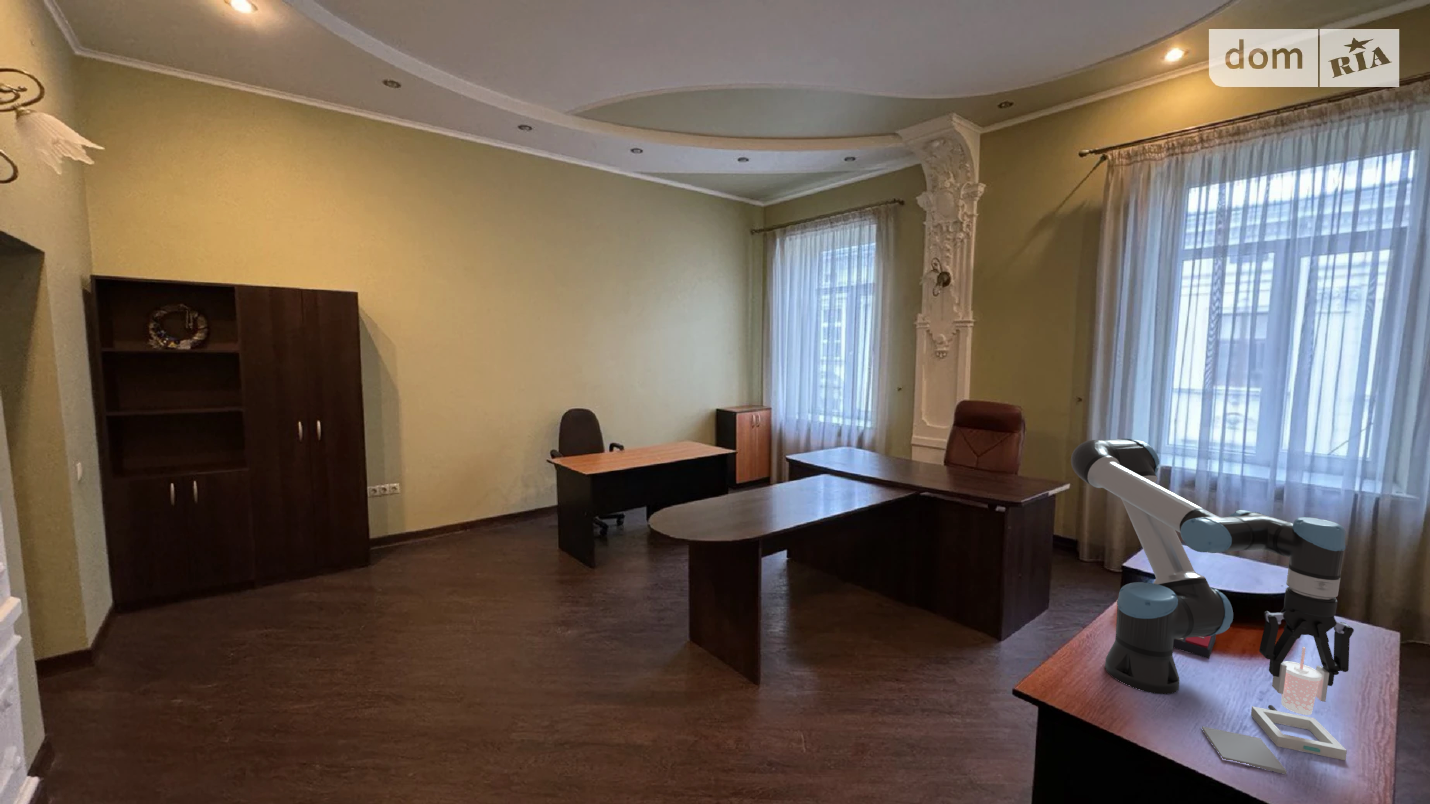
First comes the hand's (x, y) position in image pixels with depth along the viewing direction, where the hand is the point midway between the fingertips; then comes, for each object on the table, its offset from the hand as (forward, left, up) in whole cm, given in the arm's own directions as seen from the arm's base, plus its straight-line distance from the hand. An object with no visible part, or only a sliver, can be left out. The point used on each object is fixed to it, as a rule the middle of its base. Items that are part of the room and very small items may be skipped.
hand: (1298, 693), depth 120 cm
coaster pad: (-13, -10, -10) cm, 19 cm away
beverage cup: (0, 0, -4) cm, 4 cm away
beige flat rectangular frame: (0, +2, -10) cm, 10 cm away
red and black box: (-6, +40, -10) cm, 42 cm away
